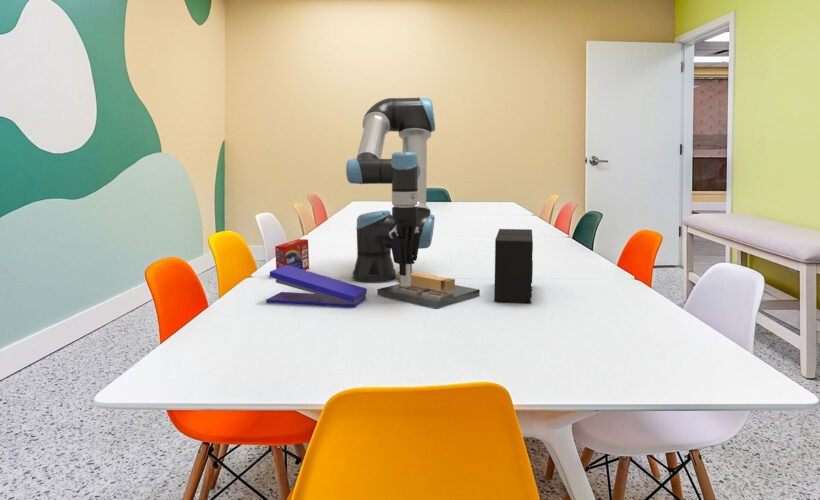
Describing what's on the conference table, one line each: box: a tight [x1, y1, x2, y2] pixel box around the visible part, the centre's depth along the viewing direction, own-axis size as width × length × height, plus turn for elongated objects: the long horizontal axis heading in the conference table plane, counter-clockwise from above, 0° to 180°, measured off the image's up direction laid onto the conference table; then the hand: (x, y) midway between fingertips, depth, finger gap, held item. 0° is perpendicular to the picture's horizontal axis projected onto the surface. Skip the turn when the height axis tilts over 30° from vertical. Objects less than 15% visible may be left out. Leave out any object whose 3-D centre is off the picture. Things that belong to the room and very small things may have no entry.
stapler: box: [265, 265, 368, 309], centre depth 172 cm, size 12×28×10 cm, turn 76°
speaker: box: [493, 228, 534, 304], centre depth 180 cm, size 25×11×19 cm, turn 169°
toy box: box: [274, 238, 310, 271], centre depth 212 cm, size 18×4×12 cm, turn 164°
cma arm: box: [397, 271, 456, 291], centre depth 178 cm, size 20×4×3 cm, turn 47°
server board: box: [376, 283, 481, 310], centre depth 178 cm, size 24×20×3 cm
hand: (405, 285), depth 173 cm, fingers closed
